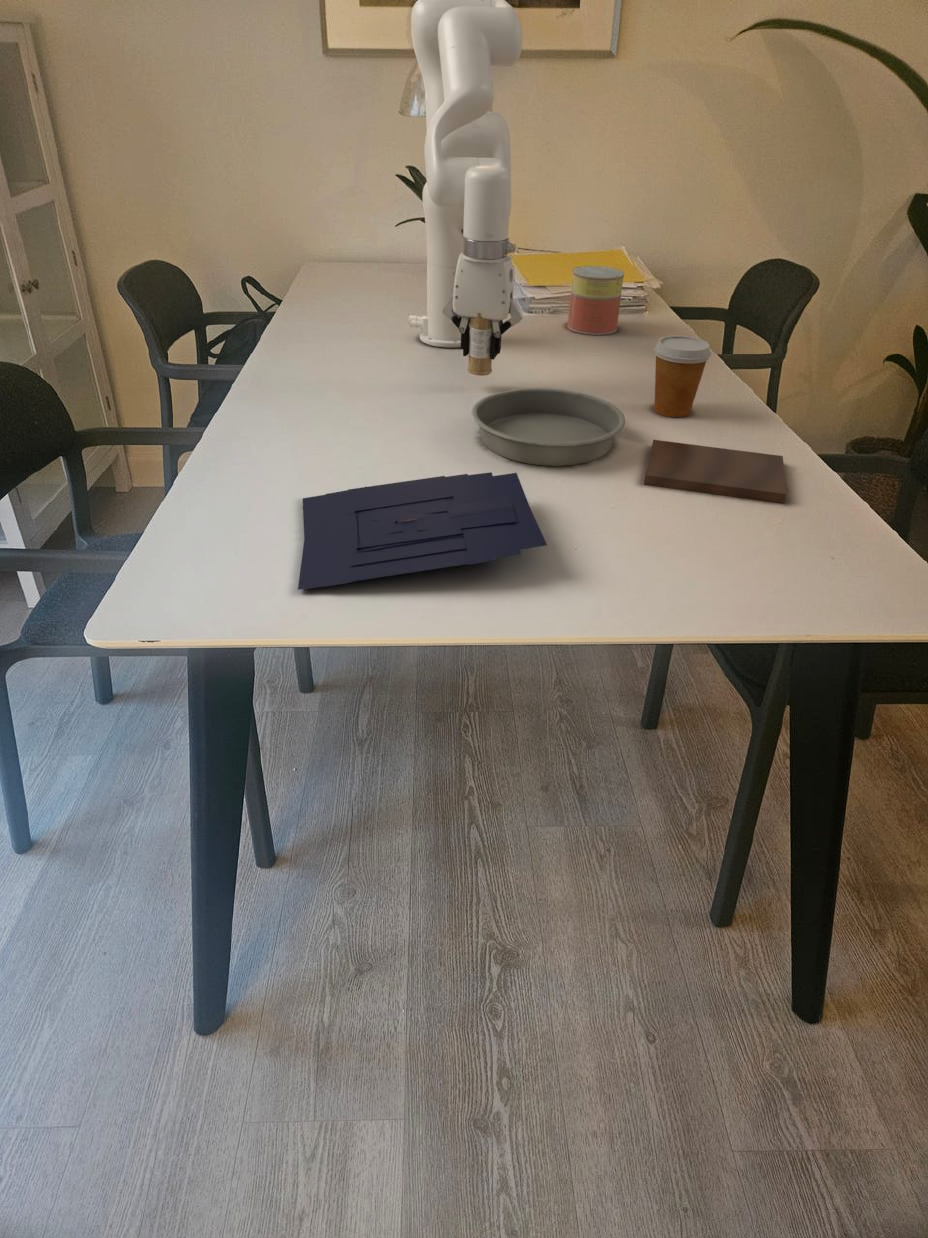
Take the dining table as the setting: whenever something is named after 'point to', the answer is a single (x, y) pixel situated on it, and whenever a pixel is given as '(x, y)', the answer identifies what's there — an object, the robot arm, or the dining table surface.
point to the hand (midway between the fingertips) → (480, 354)
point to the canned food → (595, 300)
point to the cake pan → (547, 425)
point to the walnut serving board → (716, 471)
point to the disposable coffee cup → (678, 373)
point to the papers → (414, 527)
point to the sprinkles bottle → (480, 345)
